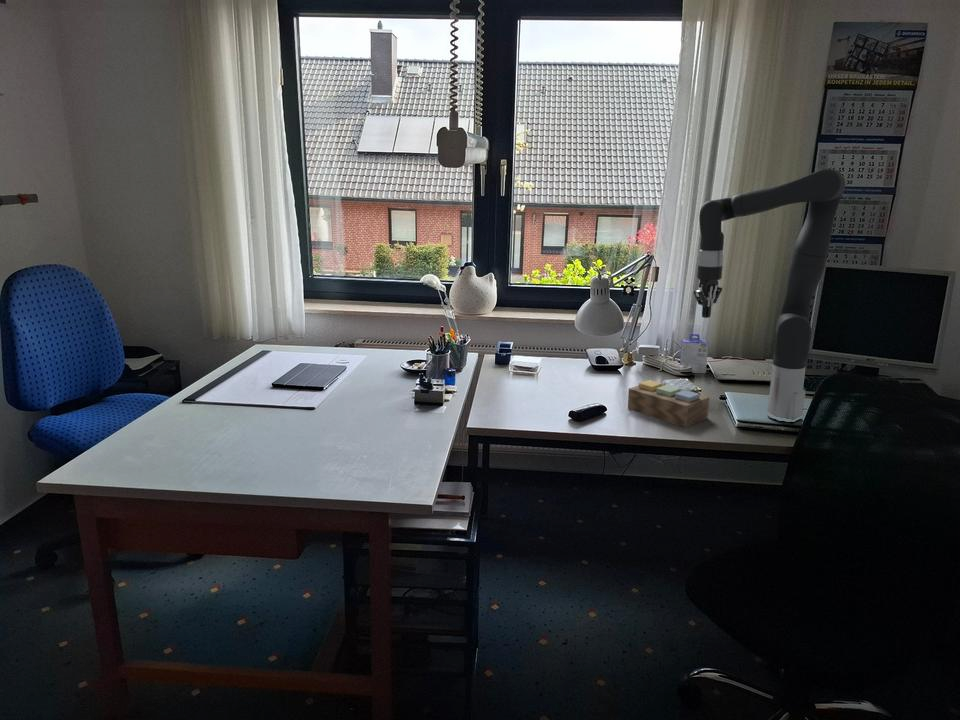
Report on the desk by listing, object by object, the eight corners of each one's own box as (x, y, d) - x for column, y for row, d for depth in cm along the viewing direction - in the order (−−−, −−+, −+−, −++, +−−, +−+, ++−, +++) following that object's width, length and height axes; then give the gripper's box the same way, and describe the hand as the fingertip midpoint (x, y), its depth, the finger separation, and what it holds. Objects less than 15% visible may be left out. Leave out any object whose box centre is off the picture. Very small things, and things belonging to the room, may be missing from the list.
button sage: (678, 409, 212) (680, 388, 210) (668, 413, 209) (670, 392, 207) (665, 405, 216) (666, 384, 214) (655, 408, 213) (656, 388, 211)
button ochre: (660, 403, 218) (662, 383, 216) (650, 407, 214) (652, 386, 213) (648, 399, 221) (649, 379, 220) (638, 403, 218) (639, 383, 216)
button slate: (697, 415, 207) (699, 393, 205) (687, 419, 204) (689, 397, 202) (683, 410, 211) (685, 389, 209) (673, 414, 208) (675, 393, 206)
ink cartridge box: (704, 369, 259) (707, 333, 255) (706, 373, 253) (709, 337, 250) (678, 368, 261) (681, 333, 257) (679, 372, 255) (682, 336, 251)
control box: (707, 418, 208) (709, 397, 206) (684, 427, 201) (686, 405, 199) (650, 400, 225) (651, 381, 223) (627, 408, 218) (628, 388, 216)
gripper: (708, 267, 204) (704, 322, 209) (732, 263, 212) (727, 316, 217) (687, 265, 210) (684, 318, 215) (711, 261, 218) (707, 312, 223)
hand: (706, 317), depth 216 cm, fingers closed
